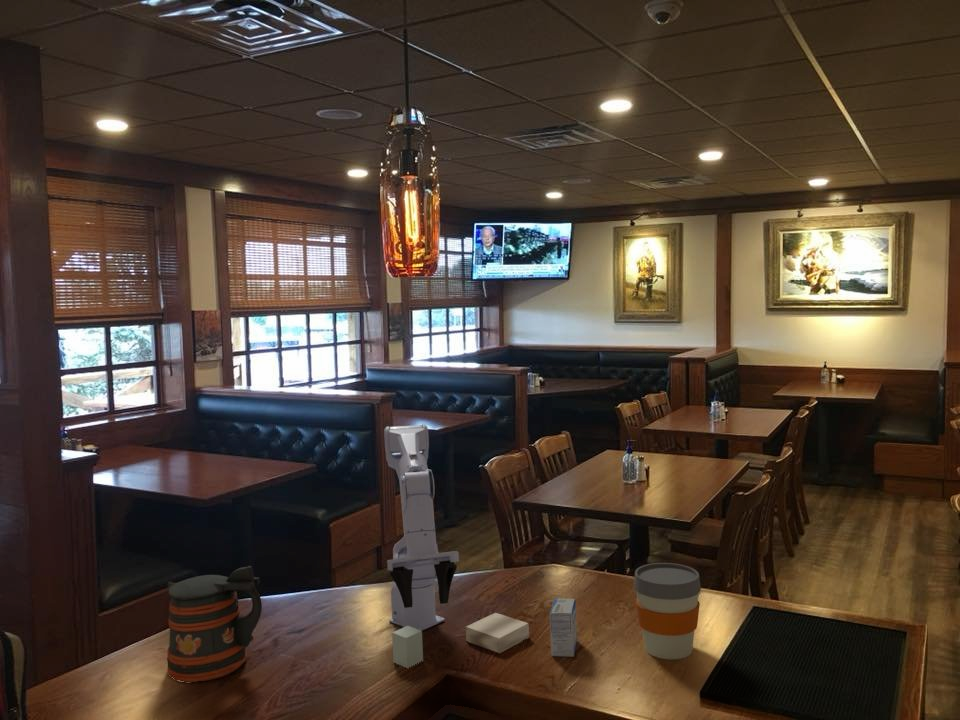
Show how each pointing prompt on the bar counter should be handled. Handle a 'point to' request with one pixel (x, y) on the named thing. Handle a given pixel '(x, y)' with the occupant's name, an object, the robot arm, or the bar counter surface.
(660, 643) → the reusable coffee cup
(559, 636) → the medicine box
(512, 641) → the birch block
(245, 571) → the beer stein
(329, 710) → the bar counter surface
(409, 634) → the sage block
